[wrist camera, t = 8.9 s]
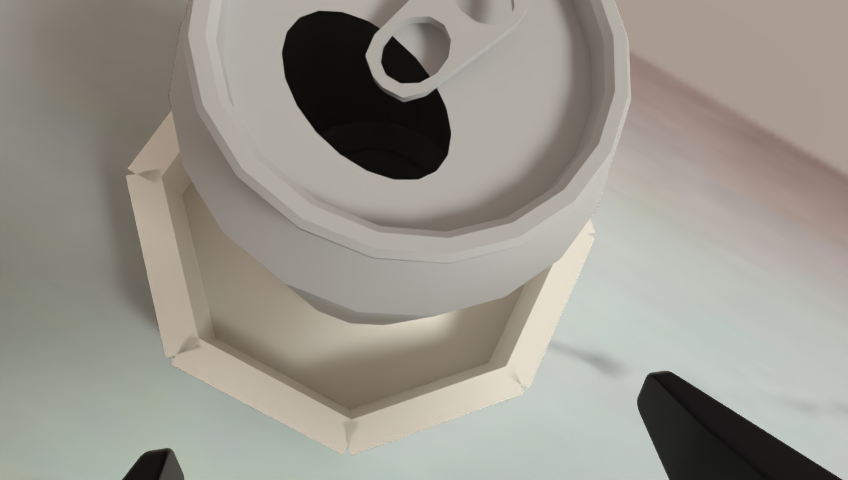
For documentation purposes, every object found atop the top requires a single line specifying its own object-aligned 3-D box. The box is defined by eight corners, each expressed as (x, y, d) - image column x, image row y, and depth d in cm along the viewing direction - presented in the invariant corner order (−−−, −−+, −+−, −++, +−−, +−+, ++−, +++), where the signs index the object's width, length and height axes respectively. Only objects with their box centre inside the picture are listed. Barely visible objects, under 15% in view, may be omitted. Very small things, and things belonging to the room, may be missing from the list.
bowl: (451, 495, 17) (470, 522, 15) (81, 298, 16) (33, 291, 14) (602, 163, 21) (638, 139, 18) (304, -10, 20) (298, -59, 18)
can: (225, 212, 17) (-24, -40, 6) (382, 94, 19) (444, -280, 7) (362, 370, 17) (404, 454, 5) (508, 235, 19) (778, 79, 7)
